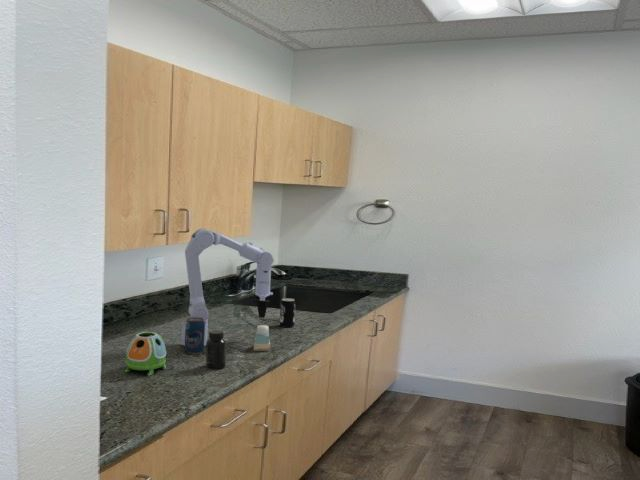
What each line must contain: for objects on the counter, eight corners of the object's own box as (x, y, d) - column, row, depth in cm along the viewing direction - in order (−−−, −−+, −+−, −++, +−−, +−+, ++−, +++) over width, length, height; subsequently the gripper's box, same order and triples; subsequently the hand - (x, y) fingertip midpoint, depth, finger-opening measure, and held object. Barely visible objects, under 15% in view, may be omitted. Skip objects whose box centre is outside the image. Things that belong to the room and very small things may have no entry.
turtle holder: (177, 362, 204) (178, 327, 203) (154, 378, 186) (155, 340, 185) (143, 358, 206) (144, 324, 205) (117, 374, 188) (118, 337, 187)
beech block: (269, 351, 223) (270, 343, 223) (253, 351, 223) (254, 343, 222) (269, 347, 229) (270, 339, 229) (254, 347, 229) (254, 339, 228)
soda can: (184, 354, 213) (185, 321, 212) (184, 348, 220) (185, 317, 219) (204, 354, 215) (205, 321, 214) (203, 348, 221) (205, 317, 220)
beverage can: (292, 328, 260) (293, 301, 259) (277, 326, 262) (279, 300, 260) (295, 325, 267) (297, 298, 266) (281, 323, 268) (282, 297, 267)
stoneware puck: (262, 336, 222) (262, 328, 222) (254, 333, 225) (254, 326, 225) (270, 334, 225) (271, 326, 225) (263, 332, 228) (263, 324, 228)
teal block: (268, 343, 223) (268, 336, 223) (255, 343, 222) (255, 335, 222) (268, 340, 228) (269, 332, 228) (255, 340, 227) (255, 332, 227)
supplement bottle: (216, 362, 205) (217, 328, 204) (230, 366, 201) (231, 332, 200) (201, 366, 200) (202, 331, 199) (214, 371, 196) (215, 335, 195)
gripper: (273, 284, 227) (272, 319, 229) (273, 278, 242) (271, 311, 243) (255, 284, 227) (253, 319, 228) (255, 278, 241) (254, 311, 242)
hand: (261, 315), depth 235 cm, fingers open, 7 cm apart
